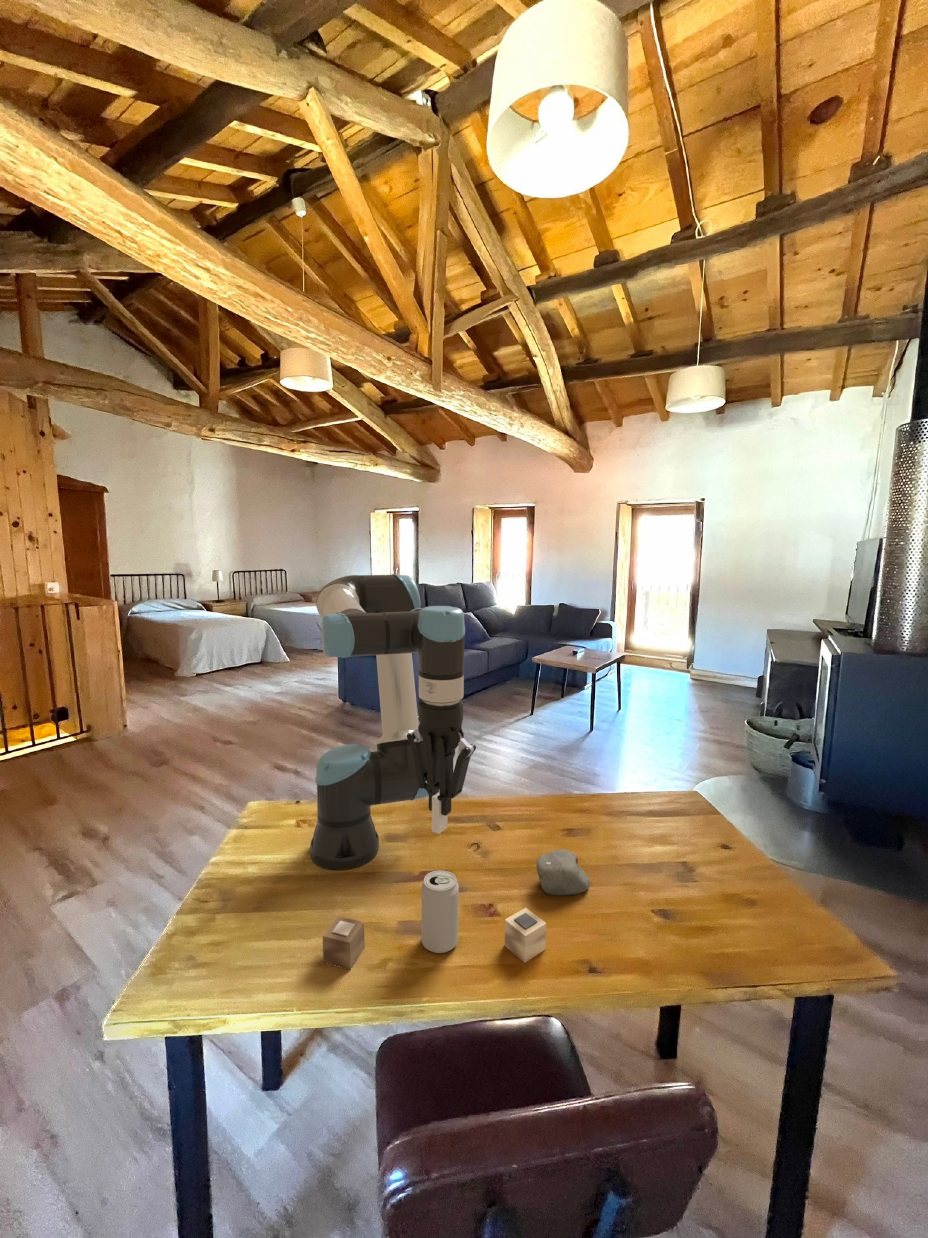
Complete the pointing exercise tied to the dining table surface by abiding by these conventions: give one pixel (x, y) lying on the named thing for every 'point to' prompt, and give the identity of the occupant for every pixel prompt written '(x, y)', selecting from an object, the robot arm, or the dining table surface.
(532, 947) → the beech block
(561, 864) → the stone
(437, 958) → the dining table surface
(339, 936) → the walnut block
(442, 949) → the beverage can
